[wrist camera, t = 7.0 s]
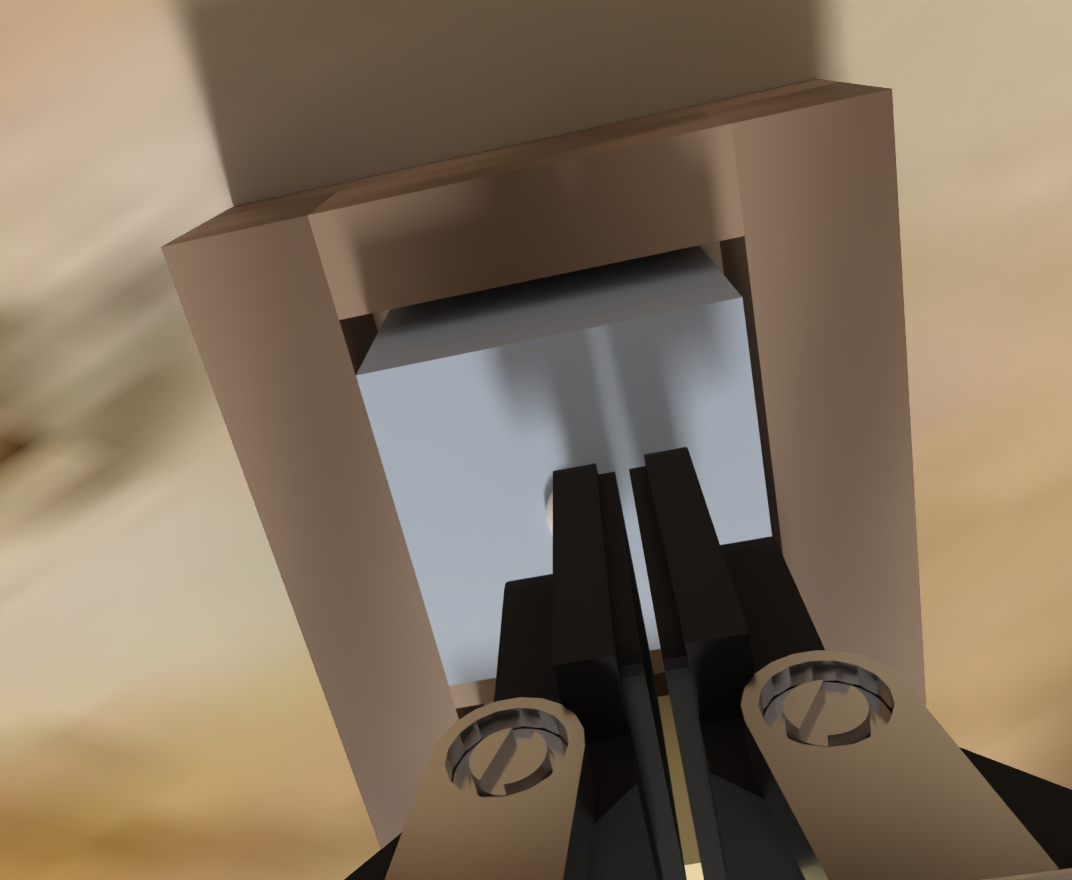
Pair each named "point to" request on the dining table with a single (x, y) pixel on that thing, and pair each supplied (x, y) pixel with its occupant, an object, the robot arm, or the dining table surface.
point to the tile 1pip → (555, 424)
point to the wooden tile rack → (541, 251)
